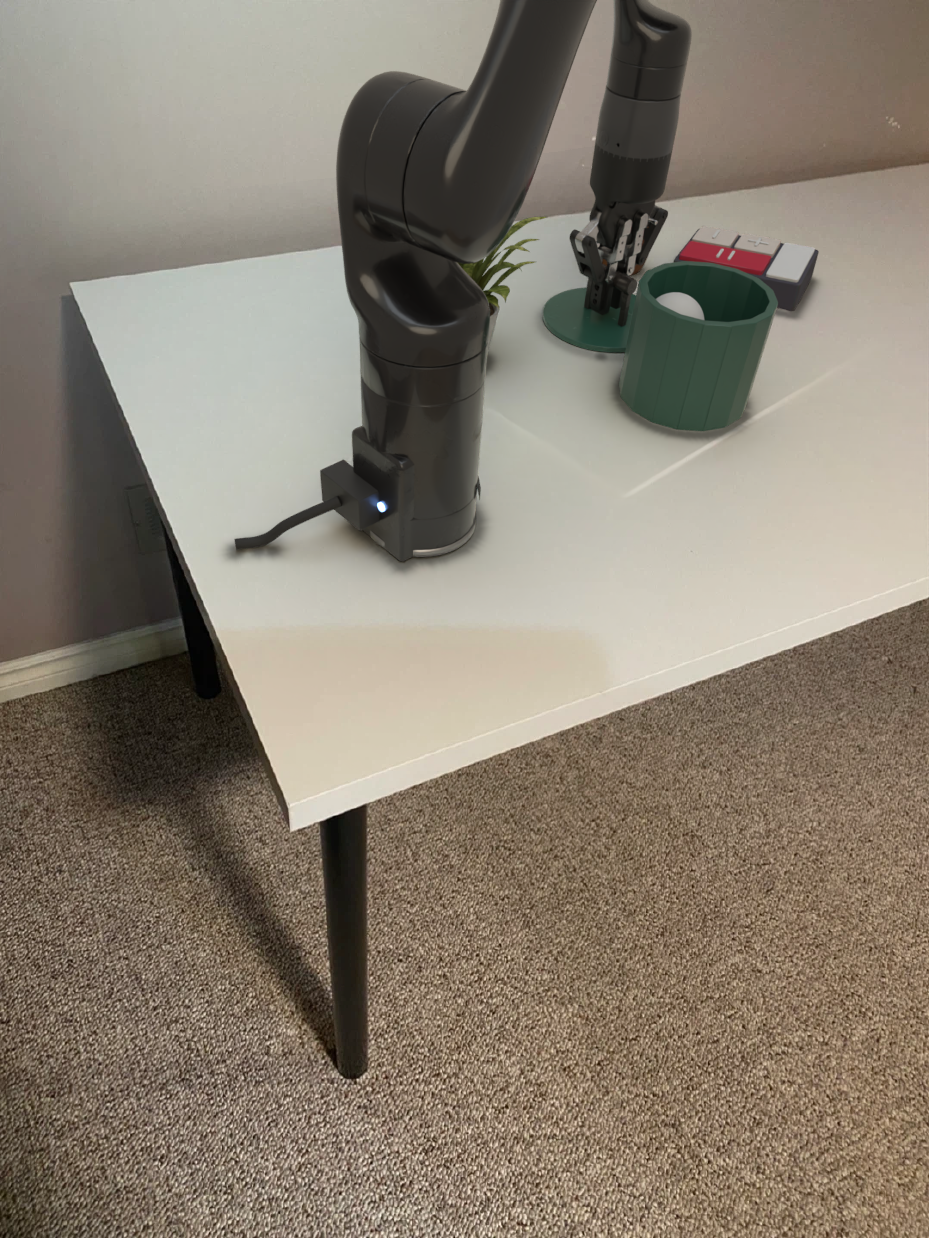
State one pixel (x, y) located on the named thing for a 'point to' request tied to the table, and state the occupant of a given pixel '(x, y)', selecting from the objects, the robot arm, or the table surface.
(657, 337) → the tin
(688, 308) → the light bulb
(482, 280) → the house plant
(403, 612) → the table surface
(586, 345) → the lid
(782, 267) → the calculator
